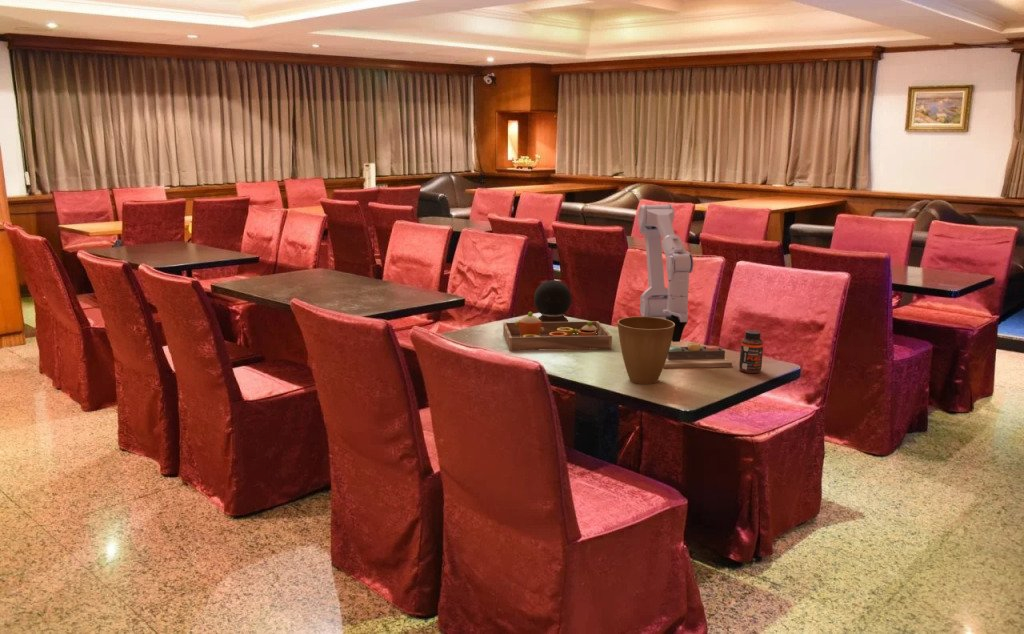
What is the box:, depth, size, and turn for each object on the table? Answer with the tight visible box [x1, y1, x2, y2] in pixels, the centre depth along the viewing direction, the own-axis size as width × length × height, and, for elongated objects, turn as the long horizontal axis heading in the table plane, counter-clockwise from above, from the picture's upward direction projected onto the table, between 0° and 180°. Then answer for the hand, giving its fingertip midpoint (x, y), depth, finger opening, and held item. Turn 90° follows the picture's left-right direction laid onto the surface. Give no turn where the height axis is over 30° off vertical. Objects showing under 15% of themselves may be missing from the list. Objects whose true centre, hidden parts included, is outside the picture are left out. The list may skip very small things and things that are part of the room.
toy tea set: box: [515, 311, 597, 337], centre depth 265 cm, size 26×16×10 cm, turn 103°
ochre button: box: [687, 342, 701, 351], centre depth 244 cm, size 4×4×2 cm
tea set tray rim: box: [502, 320, 613, 352], centre depth 267 cm, size 22×32×4 cm
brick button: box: [706, 345, 720, 351], centre depth 245 cm, size 4×4×2 cm
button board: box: [663, 345, 733, 369], centre depth 244 cm, size 14×20×4 cm
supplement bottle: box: [739, 329, 764, 374], centre depth 233 cm, size 6×6×11 cm
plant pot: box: [617, 315, 675, 385], centre depth 223 cm, size 15×15×16 cm
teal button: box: [669, 346, 682, 351], centre depth 243 cm, size 4×4×2 cm
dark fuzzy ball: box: [533, 279, 573, 322], centre depth 293 cm, size 13×13×15 cm
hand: (675, 341), depth 243 cm, fingers closed
